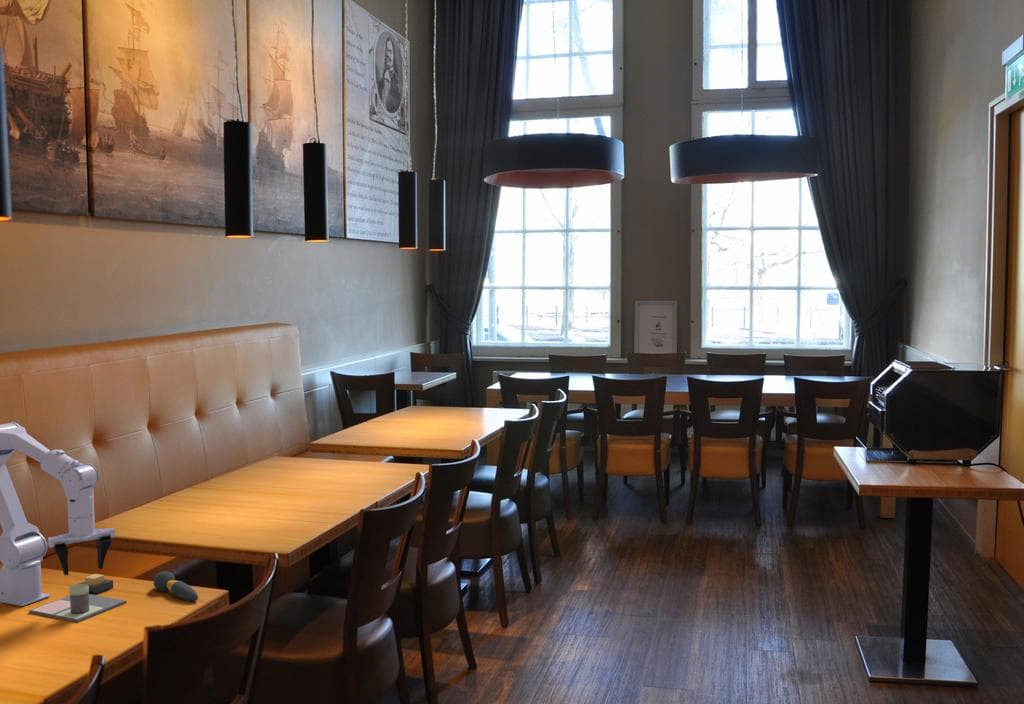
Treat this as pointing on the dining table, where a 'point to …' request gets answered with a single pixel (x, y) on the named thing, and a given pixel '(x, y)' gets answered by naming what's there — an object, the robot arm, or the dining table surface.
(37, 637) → the dining table surface
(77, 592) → the green lidded grey jar
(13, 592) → the robot arm
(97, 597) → the picture board
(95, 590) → the button housing
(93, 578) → the button
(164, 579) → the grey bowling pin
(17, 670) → the dining table surface
